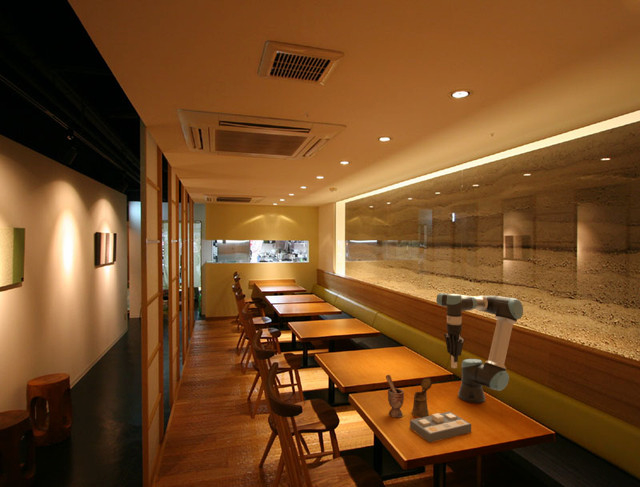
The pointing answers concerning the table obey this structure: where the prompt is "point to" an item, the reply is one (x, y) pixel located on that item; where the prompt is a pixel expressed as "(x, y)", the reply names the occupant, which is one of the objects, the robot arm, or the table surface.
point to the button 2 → (450, 416)
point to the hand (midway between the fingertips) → (454, 367)
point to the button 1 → (424, 422)
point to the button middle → (437, 418)
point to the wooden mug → (421, 400)
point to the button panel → (440, 428)
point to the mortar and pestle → (395, 399)
